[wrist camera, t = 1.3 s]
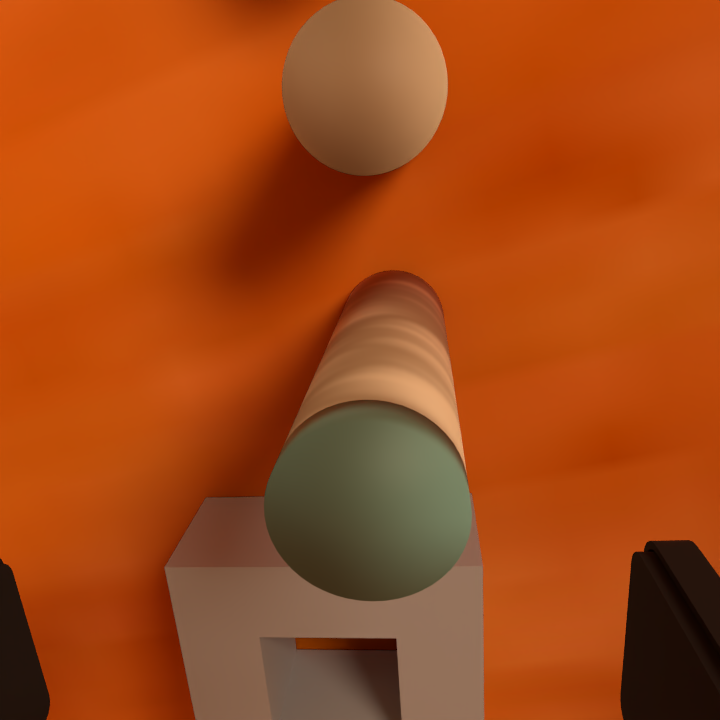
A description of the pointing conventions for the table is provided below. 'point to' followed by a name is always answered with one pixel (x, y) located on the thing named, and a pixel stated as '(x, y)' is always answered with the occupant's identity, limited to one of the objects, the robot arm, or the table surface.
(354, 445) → the long dowel
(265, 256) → the table surface
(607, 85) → the table surface
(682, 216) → the table surface
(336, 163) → the medium dowel
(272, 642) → the socket block
